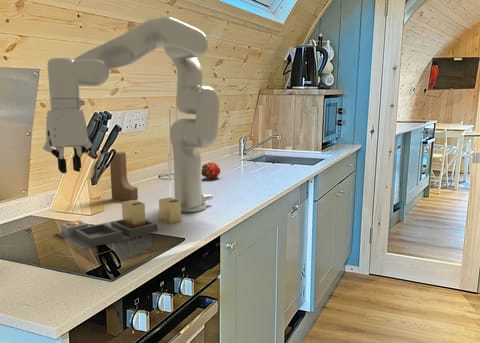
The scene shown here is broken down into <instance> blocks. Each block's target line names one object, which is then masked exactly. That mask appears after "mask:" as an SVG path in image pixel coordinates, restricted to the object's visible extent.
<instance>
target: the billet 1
mask: <svg viewBox="0 0 480 343" xmlns="http://www.w3.org/2000/svg"><path fill="white" fill-rule="evenodd" d="M121 211H122V213H121V215H122V219H123V225H124V226H126V227H128V228H130V229H132V228H136V227H140V226H145V219H146V207H145V203H144V202H142V201H139V200H137V199H135V200H130V201H125V200H123V201H121Z"/></svg>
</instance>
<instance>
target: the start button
mask: <svg viewBox="0 0 480 343" xmlns="http://www.w3.org/2000/svg"><path fill="white" fill-rule="evenodd" d="M70 222H71V223H69V226H75V225H79V222H73V221H70Z"/></svg>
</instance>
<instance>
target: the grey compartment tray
mask: <svg viewBox="0 0 480 343" xmlns="http://www.w3.org/2000/svg"><path fill="white" fill-rule="evenodd" d="M71 222H79V225H75V226H69V223H71ZM161 231H163V229H162V228H159V226H158V223H156V222H154V221H152V220H149V219H146V218H145V226H140V227H136V228H132V229H130V228H128V227H126V226H124V225H123V218H122V219H117V220H112V221H107V222H104V223H100V224H93V225H88V224H87V223H86V222H84V221H82V220H81V219H80V220H79V219H77V220H73V221H68V222H63V223H60V231H59V232H56V234H57V235H58V236H60V237H61V238H63V239H66V240H67V241H68V242H70V243H71V244H73V245H75V246H76V247H78V248H79V249H82V250H85V249H90V248H93V247H97V246H98V247H99V246H101V245H106V244H110V243H115V242H118V241H123V240H127V239H130V238H136V237H139V236H144V235H148V234H152V233H156V232H161Z"/></svg>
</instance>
